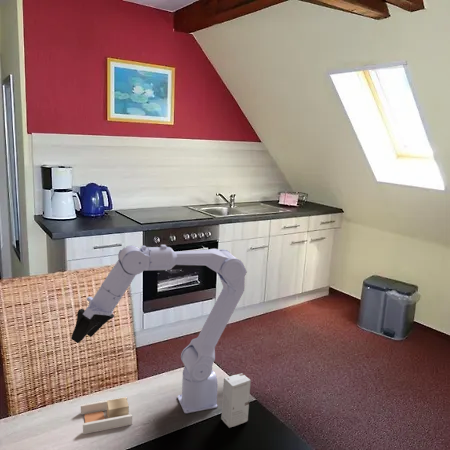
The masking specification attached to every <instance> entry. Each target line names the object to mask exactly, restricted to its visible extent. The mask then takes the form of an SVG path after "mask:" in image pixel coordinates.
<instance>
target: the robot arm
mask: <svg viewBox="0 0 450 450" xmlns="http://www.w3.org/2000/svg"><path fill="white" fill-rule="evenodd" d="M117 255H118V256H117V257H118V260H117V261H116V263H115V264H114V266H113V267H112V269H111V270H110V271H109V273H108V274H107V276H106V277H105V278H104V280H103V282H102V284H101V285H100V286H99V288H98V290H97V291H96V292H95V294H94V296H88V297H87V298H86V300H87V301H88V306H86V308H85V309H83V308H80V309H78V311H77V312H76V313H77V314H76V323H75V326H74V329H73V331H72V334H71V338H70V339H71V340H72V341H74V342H75V343H77V344H80V343H81V341H83V340H84V338H85V337H86V336H87V337H88V336H89V337H90V338H91V337H93V336H95V334H96V333H97V332H98V331H99V330H100V328H102V327H103V326H104V325H106V324H107V322H109V321H110V320H112V319H114V317H115V315H114V310H115V309H116V307H117V305H118V304H119V303H120V301H121V299H122V298H123V296H124V294H125V293H126V291H127V290H128V288H129V287H130V286H131V284H132V283H133V281H134V279H135V277H136V276H137V275H139V274H141V273H143V272H144V271H169V270H171V269H173V268H174V267H175V266H206V267H207V268H209V269H210V270H212V271H214V272H215V273H216V274H217V275H218V278H219V280H220V282H221V285H222V289H221V292H220V293H219V295H218V297H217V299H216V301H215V303H214V305H213V307H212V308H211V311H210V312H209V314H208V317H207V318H206V320H205V321H204V324H203V325H202V328H201V330H200V332H199V334H198V336H197V337H195V338H192V339H191V340H190V343H189V344H188V345H187V346H186V347H184V348H183V350H182V351H181V354H180V360H181V362H182V363H183V365H184V367H183V370H182V380H181V381H182V382H181V383H182V384H181V386H182V388H181V394H178V395H177V397H176V398H177V399H178V402H179V404H180V406H181V408H182V411H183V413H184V414H190V413H195V412H201V411H205V410H211V409H216V408H218V403H217V402H218V400H217V399H218V387H219V386H218V378H217V375H216V372H215V370H213V365H214V362H215V360H216V351H215V350H216V346H217V344H218V342H219V340H220V338H221V336H222V334H223V333H224V331H225V328H226V327H227V325H228V323H229V321H230V319H231V317H232V314H233V313H234V311H235V309H236V308H237V305H238V303H239V301H240V300H241V298H242V295H243V294H244V292H245V286H246V285H245V284H246V283H245V280H246V279H245V278H246V275H247V273H248V271H247V269H246V267H245V264H244V262H242V260H241V259H239V258H238V257H236V256H234V255H233V254H232V253H231V252H230V251H229V250H228V249H224V248H222V249H220V248H219V249H218V248H210V249H198V250H197V249H193V250H182V251H181V250H180V251H179V250H178V251H174V250H173V248H172V247H170V246H167V244H160V246H153V247H151V246H146V245H141V246H140V248H139V247H137V246H136V245H133V244H132V245H127V246H126V247H123V248H122V249H120V250H119V252H118V254H117Z"/></svg>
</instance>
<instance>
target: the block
mask: <svg viewBox="0 0 450 450" xmlns="http://www.w3.org/2000/svg"><path fill="white" fill-rule="evenodd" d="M124 397H125V398H121V397H119V398H120V399H115V398H113V399H114V400H109V399H107V400H108V401H107V410H106V415H107V419H108V418H114V417H119V416H124V415H129V414H130V413H129V412H130V411H129V410H130V409H129V408H130V407H129V402H128V397H127V396H124ZM126 397H127V398H126Z"/></svg>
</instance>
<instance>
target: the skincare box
mask: <svg viewBox="0 0 450 450" xmlns="http://www.w3.org/2000/svg"><path fill="white" fill-rule="evenodd" d="M251 381H252V380H251V379H250V378H249V377H247V376H246V375H245V374H244V373H243V372H241V373H238V374H233V375H231V376H228V377H224V378H223V387H222V401H221V402H222V403H221V404H222V405H221V415H220V416H221V417H220V419H221V420H222V422H223V423H224V424H225V425H226V426H227V427H228V428H229V429H231V428H232V427H236V426H239V425H241V424H244V423H247V422H248V421H249V409H250V395H251Z"/></svg>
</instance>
